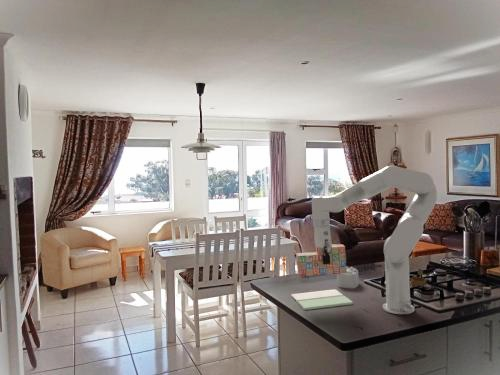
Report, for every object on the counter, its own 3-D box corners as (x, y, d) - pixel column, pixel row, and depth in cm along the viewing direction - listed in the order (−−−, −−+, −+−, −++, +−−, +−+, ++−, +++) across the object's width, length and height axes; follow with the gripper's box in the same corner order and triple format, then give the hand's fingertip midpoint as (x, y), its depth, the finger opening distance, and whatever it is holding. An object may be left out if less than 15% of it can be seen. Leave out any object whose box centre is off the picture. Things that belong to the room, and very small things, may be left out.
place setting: (395, 287, 192) (395, 275, 192) (418, 279, 203) (418, 268, 203) (428, 295, 177) (427, 283, 177) (451, 286, 188) (450, 274, 188)
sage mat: (353, 304, 170) (352, 301, 170) (304, 310, 165) (304, 307, 165) (344, 297, 179) (344, 295, 179) (297, 303, 174) (297, 301, 174)
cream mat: (343, 296, 180) (342, 294, 180) (296, 302, 176) (296, 300, 176) (335, 291, 189) (335, 289, 189) (291, 296, 185) (291, 294, 185)
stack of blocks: (299, 276, 168) (297, 249, 168) (297, 273, 175) (295, 246, 174) (347, 273, 168) (345, 246, 168) (343, 269, 175) (341, 243, 174)
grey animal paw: (335, 286, 196) (334, 270, 196) (341, 280, 207) (341, 264, 207) (355, 288, 191) (354, 272, 191) (361, 281, 202) (360, 265, 202)
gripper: (336, 224, 163) (339, 265, 164) (322, 220, 180) (324, 257, 181) (320, 226, 162) (322, 267, 162) (307, 221, 179) (309, 258, 179)
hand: (323, 261), depth 171 cm, fingers closed on stack of blocks, 6 cm apart
